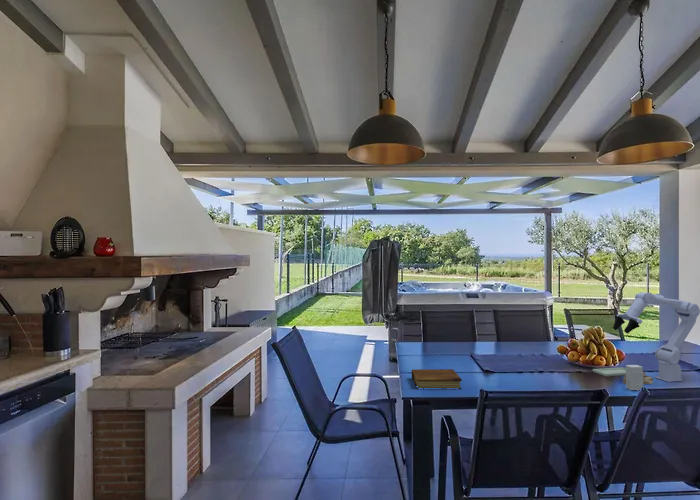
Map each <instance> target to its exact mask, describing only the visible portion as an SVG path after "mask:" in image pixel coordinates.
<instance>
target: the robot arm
mask: <svg viewBox="0 0 700 500" xmlns="http://www.w3.org/2000/svg"><path fill="white" fill-rule="evenodd" d="M648 305H653V306H660V307H661V306H663V305H669V306H672V308H673V310H674V311H675V313H676V315H677V316H678V318H679V319H680V322H679V324H678V325H677V327H676V328H675V330H674V332H673V334H672V335H671V337H670V338H669V340H668V341H667V342H666V344H662V345H661V346H659V348H657V349H656V350H655V352H654V358H655V359H657V362H658V376H657V375H656V376H654V378H656V379H659V380H661V381H665V382H668V383H669V382H670V383H671V382H683V381H684V379H682V368H681V365H680V364H679V362H680V357H681V355H682V353H681V351H680V348H681V347H682V345H683V343H684V342H685V340H686V339H687V337H688V335H689V334H690V333H691V331H692V329H693V328H694V326H695V324H696V321H697V318H698V316H699V315H700V307H699V305H698V304H696V303H692V302H690V301H686V300H681V299H673V298H666V297H665V296H663V295H662V294H660V293H652V292H639V293H636V294H635V296H634V300H633V302H632V304H631V305H630V307H629V308H628V309H627V311H626V312H623V313H617V314H616V315H615V316H614V323H613V326H612V329H613V330H614V331H617V330H619V328H620V327H621V326H622V325H624V324H625V323H626V321H628V323H627V325H626V326H625V328H624V330H623V332H624V333H626V334H629V333H630V332H632V331H634V330H635V329H637V328H640V325H641V324H642V323H644V322H643V320H642V319H640V318H639V317H640V316H641V314H642V313H643V311H644V310H645V309H646V308H647V306H648Z"/></svg>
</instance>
